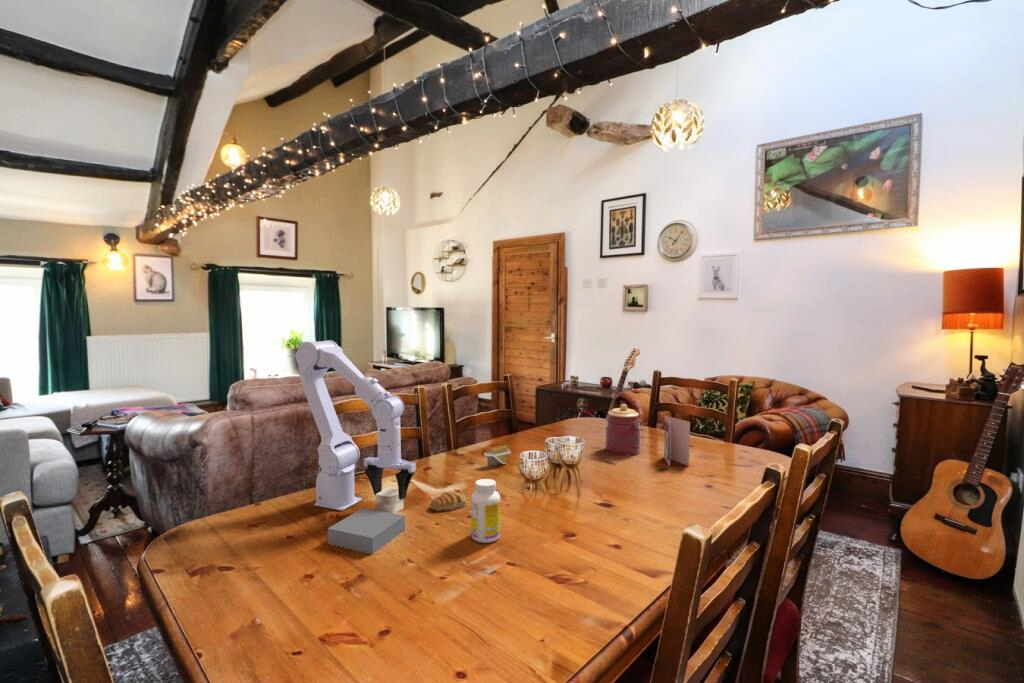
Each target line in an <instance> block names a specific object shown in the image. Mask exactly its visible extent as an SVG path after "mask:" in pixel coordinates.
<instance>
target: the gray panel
mask: <svg viewBox="0 0 1024 683" xmlns="http://www.w3.org/2000/svg"><path fill="white" fill-rule="evenodd" d="M405 531H406V515H403V514H399V513H396V514H394V513H388V512H383V511H377V510H376V509H371V508H366V507H362V508H360V509H359V510H357V511H355V512H354V513H352V514H351V515H348V516H347V517H345V518H343V519H342V520H340V521H338V522H336V523H334V524H333V525H331V526H329V527H328V528H327V545H329V544H331V545H330V546H334V545H336V546H335V547H338V546H340V547H339V548H343V547H344V549H348V550H351V549H352V551H356V550H357V552H360V551H362V552H361V553H365V552H366V553H365V554H369V553H371V554H370V555H374V554H375V552H376V551H377V552H378V551H380V550H382V548H384V547H386V545H388V544H389V543H390V542H392V541H393V540H394V539H396V538H397V537H399V536H400V535H401V534H403V533H404V532H405ZM402 532H403V533H402ZM400 533H401V534H400ZM399 534H400V535H399ZM395 537H396V538H395ZM392 539H393V540H392ZM391 540H392V541H391ZM388 542H389V543H388ZM387 543H388V544H387ZM383 546H384V547H383ZM379 549H380V550H379ZM377 552H376V553H377Z"/></svg>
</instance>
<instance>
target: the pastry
mask: <svg viewBox="0 0 1024 683" xmlns="http://www.w3.org/2000/svg"><path fill="white" fill-rule="evenodd" d="M467 504H468V503H467V497H466V496H465V493H464V492H463V490H461V489H453V490H449V491H446V492H443V493H442V494H441V495H439V496H436V497H435V498H434V499H433V500H431V502H430V507H429V508H430V509H431V510H434V511H436V512H442V511H441V510H445V511H453V510H456V509H460V508H463V507H465V506H466V505H467ZM462 506H463V507H462ZM459 507H460V508H459ZM455 508H456V509H455Z"/></svg>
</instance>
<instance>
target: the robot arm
mask: <svg viewBox="0 0 1024 683" xmlns="http://www.w3.org/2000/svg"><path fill="white" fill-rule="evenodd" d="M294 357H295V360H296V363H297V366H298V373H299V374H298V376H299V380H300V383H301V386H302V388H303V391H304V395H305V397H306V400H307V402H308V405H309V407H310V408H309V409H310V411H311V414H312V416H313V419H314V421H315V424H316V427H317V430H318V432H319V435H320V437H321V441H320V443H319V446H318V447H317V452H318V463H319V465H318V466H319V467H320V469H321V470H320V472H319V473H318V474H317V476H316V481H315V490H316V491H315V492H316V499H315V500H316V502H315V503H314V506H316V507H321V508H326V509H331V510H337V511H340V512H341V511H344V510H346V509H348V508H350V507H352V506H353V505H356V504H358V502H359V503H360V501H362V500H363V499H362V498H363V497H357V496H355V495H356V494H355V468H356V463H357V462H358V461H359V459H360V457H361V456H360V455H361V453H360V449H359V447H358V445H356V443H355V442H354V441H353V438H352V436H350V435H349V434H347V433H345V431H343V429H342V426H341V423H340V420H339V418H338V415H337V413H336V410H335V407H334V404H333V402H332V398H331V396H330V393H329V390H328V387H327V385H326V383H325V379H324V377H325V375H326V372H328V370H329V369H330V368H331V369H333V370H335V372H337V373H338V374H340V375H341V376H342V377H343V378H344V379H346V381H348V382H349V383H350V384H351V385H352V386H354V393H355V394H356V395H357V397H359V398H360V399H361V401H363V402H364V403H365V404H366V405H367V406H368V407H369V408H370V409H371V413H372V417H373V418H374V420H375V423H376V428H377V431H376V432H377V457H373V456H371V457H370V456H368V457H365V458H364V459H363V466H364V467H366V469H364V474H365V476H366V478H368V480H369V484H370V485H371V489H372V491H373V495H374V496H376V494H377V493H379V492H381V491H382V488H383V483H382V482H383V471H384V469H387V470H388V469H389V470H395V471H399V472H397V473H395V479H396V482H397V487H398V488H397V489H398V494H399V499H400V500H402V499H405V498H406V497H407V493H408V489H409V486H410V483H411V480H412V478H413V476H414V475H415V472H416V471H417V470H416V469H417V466H416V465H417V464H416V462H412V461H408V460H406V459H402V452H401V451H402V450H401V448H402V445H401V442H402V441H401V438H402V437H401V436H402V435H401V416H402V415H403V414H404V411H405V403H404V401H403V400H402V399H401V397H400V396H399V395H394V394H391V392H390V391H387V390H386V389H385V388H384V387H383V386H382V385H380V384H379V383H378V382H379V380H378V379H377V378H376V377H374V378H373V377H371V376H364V374H363V373H362V372H361V371H360V370H359V369H358V368H357V367H356V366H355V365H354V363H352V361H351V360H350V359H349V358H348V357H347V356H346V354H344V351H343V348H342V347H341V346H339V345H338V344H337V342H335V341H334V340H331V339H327V340H323V341H322V340H321V341H305V342H302V343H301V344H300V345H299V346H298V349H297V351H296V353H295V355H294ZM335 446H336V447H335Z"/></svg>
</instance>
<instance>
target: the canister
mask: <svg viewBox="0 0 1024 683" xmlns="http://www.w3.org/2000/svg"><path fill="white" fill-rule="evenodd" d="M607 414H608V416H607V417H606V418H605V421H606V426H605V427H604V428H605V443H604V447H605V451H606V452H608V453H611V454H614V455H619V456H635V455H638V454H639V453H640V451H641V448H642V447H641V431H642V429H641V426H640V424H641V422H642V420H641V418H639V416H640V414H639V412H637V411H636V410H635V409H632V408H628V405H627V404H625V403H621V404H620V406H619V407H615V408H612V409H611V410H609V411H608V412H607Z"/></svg>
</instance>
